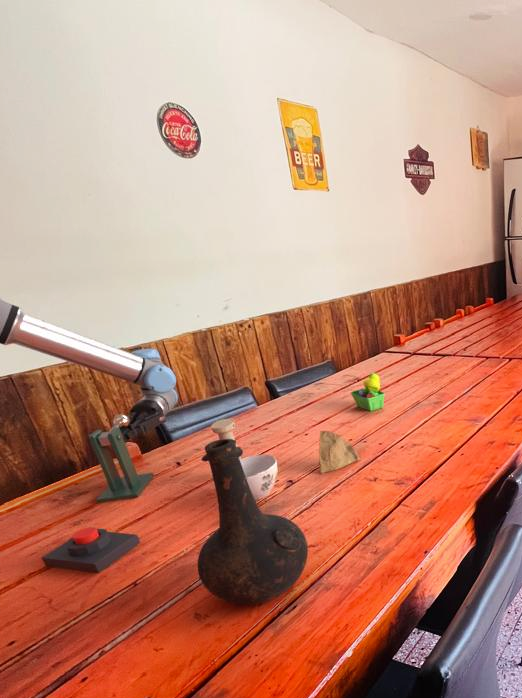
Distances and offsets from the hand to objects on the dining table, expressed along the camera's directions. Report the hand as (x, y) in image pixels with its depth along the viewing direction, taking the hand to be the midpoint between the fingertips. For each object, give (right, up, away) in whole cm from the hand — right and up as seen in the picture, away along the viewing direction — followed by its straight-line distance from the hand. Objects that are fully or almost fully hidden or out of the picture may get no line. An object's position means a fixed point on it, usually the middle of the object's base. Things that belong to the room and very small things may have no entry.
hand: (116, 442), depth 127 cm
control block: (+12, -24, -24) cm, 36 cm away
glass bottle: (+52, -27, -35) cm, 68 cm away
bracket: (+1, -12, +2) cm, 12 cm away
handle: (+28, -9, +5) cm, 30 cm away
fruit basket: (+53, +14, +50) cm, 74 cm away
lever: (0, +2, +1) cm, 2 cm away
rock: (+54, -6, +8) cm, 55 cm away
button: (+12, -21, -25) cm, 35 cm away
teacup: (+37, -14, -5) cm, 40 cm away
